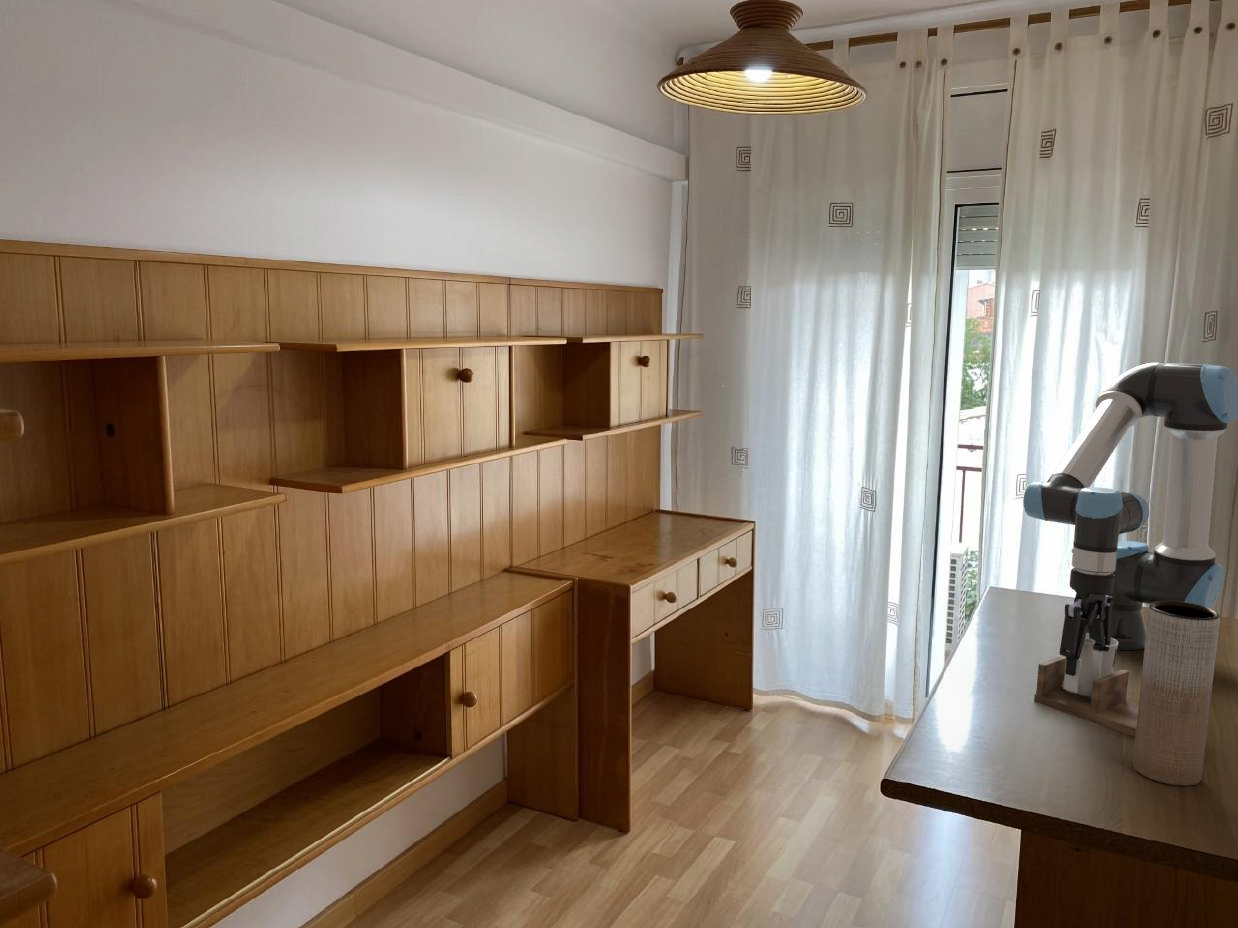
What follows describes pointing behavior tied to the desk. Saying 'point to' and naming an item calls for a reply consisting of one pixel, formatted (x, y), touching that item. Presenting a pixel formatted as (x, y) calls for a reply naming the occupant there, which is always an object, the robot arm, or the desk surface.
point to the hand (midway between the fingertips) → (1081, 686)
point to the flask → (1086, 668)
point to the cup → (1108, 657)
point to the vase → (1175, 692)
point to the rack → (1089, 697)
